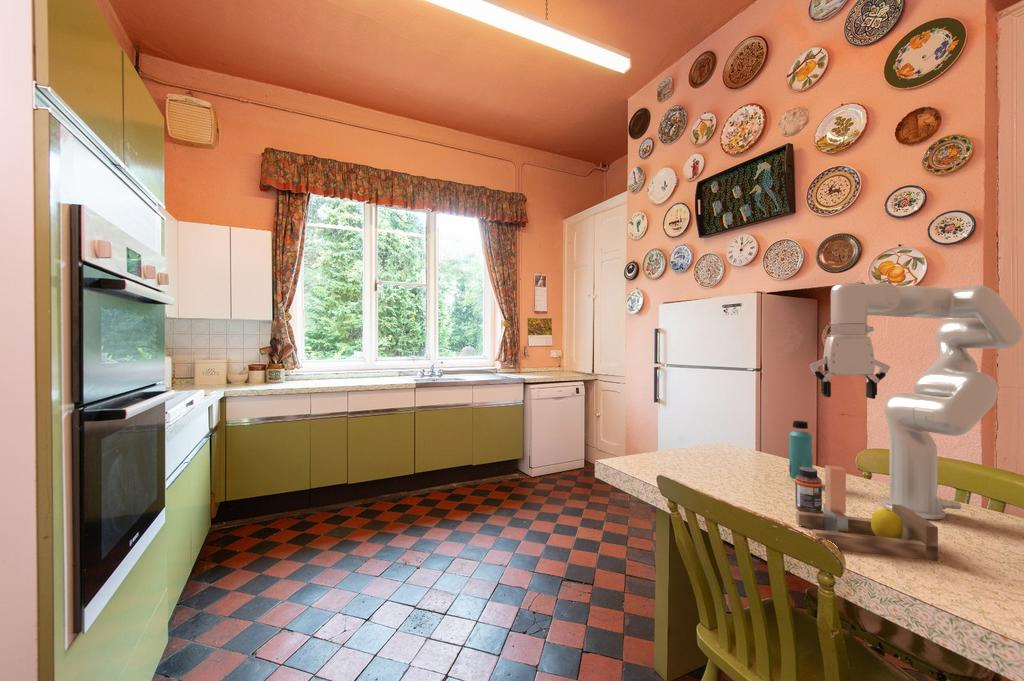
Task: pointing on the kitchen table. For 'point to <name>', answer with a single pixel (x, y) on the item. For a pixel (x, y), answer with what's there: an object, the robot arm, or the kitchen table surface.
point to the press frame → (912, 544)
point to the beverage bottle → (799, 449)
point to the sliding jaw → (835, 500)
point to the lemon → (886, 524)
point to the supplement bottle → (808, 491)
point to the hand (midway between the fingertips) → (848, 397)
